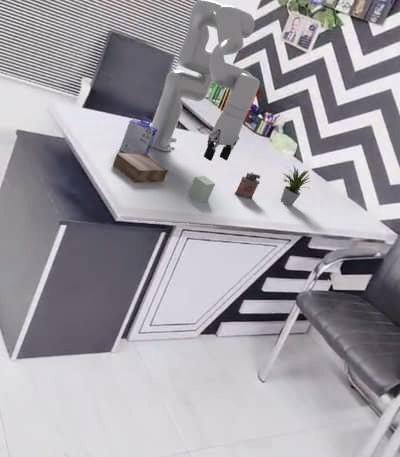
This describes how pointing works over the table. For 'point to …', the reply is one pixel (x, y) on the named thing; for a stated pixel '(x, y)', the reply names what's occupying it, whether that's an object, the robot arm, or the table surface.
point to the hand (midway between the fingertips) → (215, 158)
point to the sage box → (201, 188)
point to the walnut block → (140, 168)
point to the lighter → (247, 186)
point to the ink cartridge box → (138, 137)
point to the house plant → (293, 187)
